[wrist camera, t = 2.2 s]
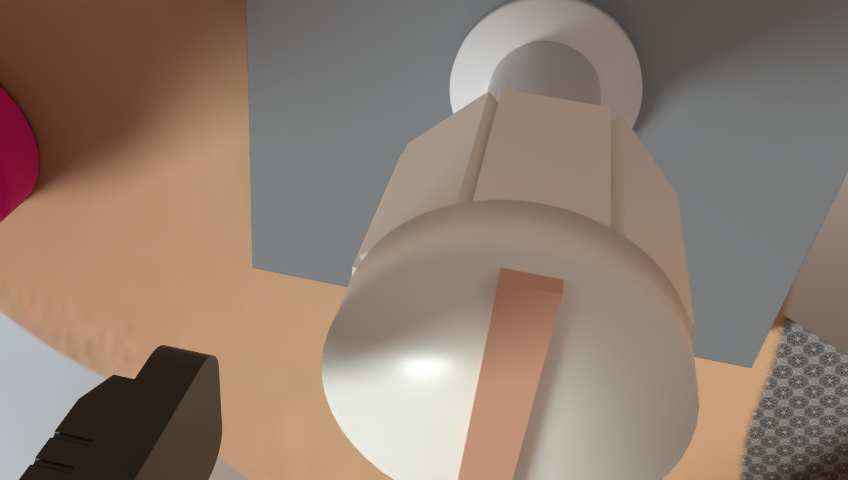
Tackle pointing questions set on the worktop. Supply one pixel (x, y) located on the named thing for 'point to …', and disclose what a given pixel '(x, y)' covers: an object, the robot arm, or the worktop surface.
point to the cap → (519, 304)
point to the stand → (571, 80)
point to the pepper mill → (15, 156)
